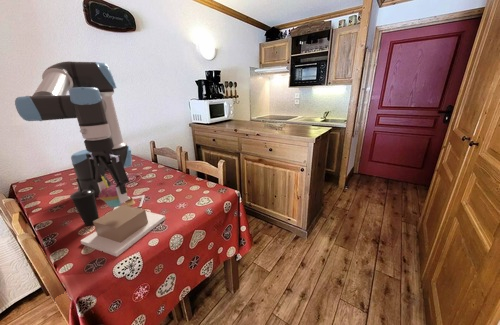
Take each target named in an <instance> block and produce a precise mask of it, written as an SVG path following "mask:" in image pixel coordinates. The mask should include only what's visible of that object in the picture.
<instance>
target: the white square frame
mask: <svg viewBox="0 0 500 325" xmlns="http://www.w3.org/2000/svg"><path fill="white" fill-rule="evenodd" d="M127 196H128V195H127ZM145 196H146V195H145V194H143V195H138V196H131V197H130V196H128V200H127V201H125V202H124V205H127V206H131V207H133V205H135V204H136V201H135V199H140V203H139V206H135V207H136V208H142V206H143V203H144V199H145ZM118 207H120V206H117V207H113V210H114V209H116V208H118ZM113 210H112V211H113Z"/></svg>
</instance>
